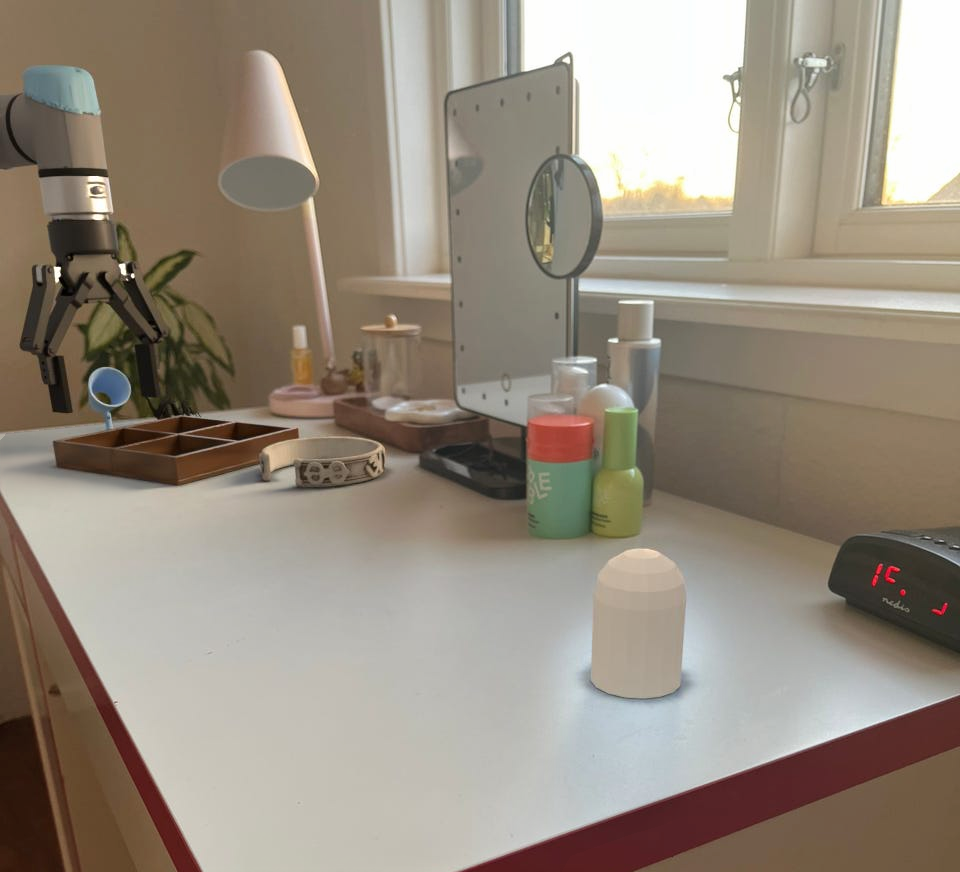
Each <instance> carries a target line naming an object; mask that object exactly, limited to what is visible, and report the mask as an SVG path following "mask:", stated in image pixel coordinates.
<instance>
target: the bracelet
mask: <svg viewBox="0 0 960 872" xmlns="http://www.w3.org/2000/svg"><path fill="white" fill-rule="evenodd" d="M259 457H260V463H259V467H260V474H261V478H262V480H263V481H266V482H267V481H268V482H269V481H272V479H273V478H272V472H273V471H277V470H278V469H279V470H280V469H283V468H286V467H290V466H293V467H294V473H295V485H296V486H297V487H299V488H300V487H312V488H313V487H335V486H344V485H345V486H346V485H351V484H357V483H362V482H367V481H370V480H373V479H375V478H377V477H379V476H380V475H382V474H383V472H384V470H386V469H387V468H386V466H387V465H386V449H385V447H384V446H383V445H382V444H381V443H380V442H379V441H375V440H372V439H369V438H368V439H367V438H363V437H355V436H329V435H327V436H314V437H313V436H312V437H301V438H300V437H299V439H292V440H287V441H282V442H278V443H275V444H272V445H269V446H267V447H266V448H264V449H263V450H262V451H261V453H260V454H259Z"/></svg>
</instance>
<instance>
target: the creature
mask: <svg viewBox="0 0 960 872" xmlns="http://www.w3.org/2000/svg"><path fill="white" fill-rule="evenodd" d="M182 394H183V391H180V393H179V395H178V396H177V398H176V400H173V399H172V396H169V397H168V398H164V399H163V400H162V401H160V402H159V404H158V408H155V407H154V406H153V403H152V401H151V399H150V397H144V398H145V399H146V401H147V404H148V406H149V408H150V411H151V412H152V415H153V416H154V418H156V420H160V419H165V418H170V417H172V415H171V413H170V412H169V411H170V410H169V407H168V404H169V406H170V408H171V412H172V414H173V417H175V416H180V415H183V416H191V415H192V416H195V417H202V416H201V415H200V413H199V412H198V411H195V412H194V411H193V409H192V407H191V406H189V405H185V404H186V403H188V400H187V399H185V400H183V401H182V402H180V403H179V405H178V407H177V406H176V404H175V403H177V401H178V399H182V398H181V397H182ZM139 395H140V396H142V395H141V393H140V394H139ZM179 397H180V398H179Z"/></svg>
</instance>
